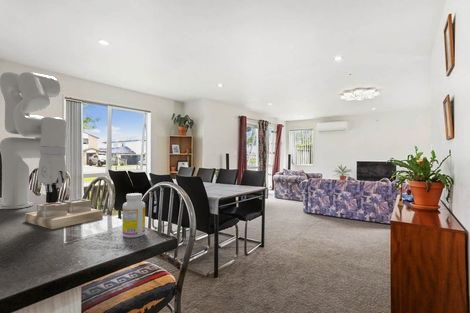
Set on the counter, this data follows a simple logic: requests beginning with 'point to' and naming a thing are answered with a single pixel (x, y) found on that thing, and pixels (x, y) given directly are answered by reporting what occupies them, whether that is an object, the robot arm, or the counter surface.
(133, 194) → the supplement bottle
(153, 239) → the counter surface
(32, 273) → the counter surface
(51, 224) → the key panel
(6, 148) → the robot arm
